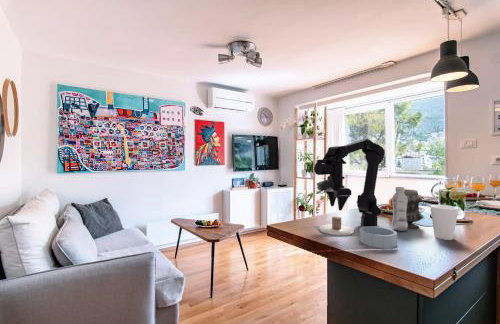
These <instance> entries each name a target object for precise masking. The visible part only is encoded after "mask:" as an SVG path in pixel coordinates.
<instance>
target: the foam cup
mask: <svg viewBox="0 0 500 324" xmlns="http://www.w3.org/2000/svg"><path fill="white" fill-rule="evenodd" d="M430 213H431V219H432V220H431V221H432V228H433V235H434V237H435V238H437V239H440V240H446V241H452V240H454V236H455V232H456V231H455V230H456V226H457V219H458V215H459V207H457V206H454V205H453V206H452V205H446V204H430Z"/></svg>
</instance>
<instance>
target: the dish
mask: <svg viewBox="0 0 500 324" xmlns="http://www.w3.org/2000/svg"><path fill="white" fill-rule="evenodd" d="M359 234H360V236H359V242H360V243H362V244H364V245H366V246H370V247H373V248H375V249H377V250H394V249H395V248H396V247H397V246H398V232H397V230H394V229H391V228H388V227H383V226H379V227H375V226H361V227H359Z"/></svg>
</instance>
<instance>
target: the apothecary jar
mask: <svg viewBox="0 0 500 324" xmlns="http://www.w3.org/2000/svg"><path fill="white" fill-rule="evenodd" d="M404 194H405V195H406V196H407V198H408V203H407V211H406V216H407V223H408V228H407V230H418V229H420V226H419V225H418V224H415V222H419V221H420V220H422V219H423V214H422V213H421V211H420V207H419V204H420V202H422V200H423V197H422V196H421V195H419V192H418V190H416V189H409V188H408V189H405V192H404Z"/></svg>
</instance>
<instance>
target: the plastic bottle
mask: <svg viewBox="0 0 500 324" xmlns="http://www.w3.org/2000/svg"><path fill="white" fill-rule="evenodd" d="M394 191H395V193H394V194H393V195H392V197H391V200H392V211H393V212H392V221H391V228H392V230H394V231H399V232H406V231H407V230H408V229H407V228H408V223H407V216H406V211H407V203H408V198H407V196H406V195H405V194H404V192H405V187H404V186H401V187H400V186H395V190H394Z"/></svg>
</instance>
